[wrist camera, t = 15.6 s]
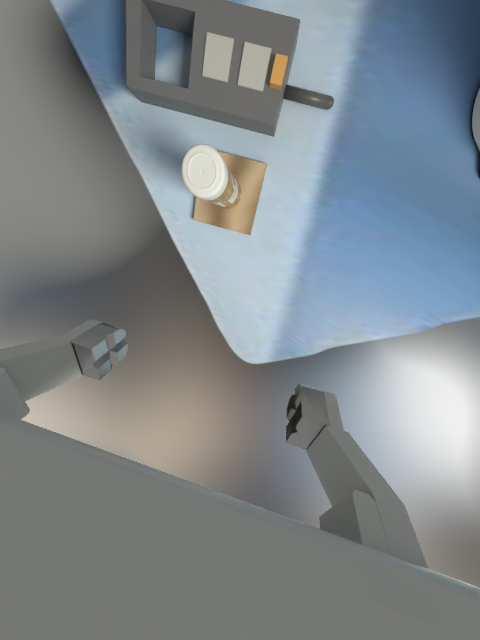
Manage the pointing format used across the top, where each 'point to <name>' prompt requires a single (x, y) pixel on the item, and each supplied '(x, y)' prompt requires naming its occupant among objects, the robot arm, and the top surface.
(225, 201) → the sprinkles bottle
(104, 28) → the top surface
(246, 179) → the wooden mat
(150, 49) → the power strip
